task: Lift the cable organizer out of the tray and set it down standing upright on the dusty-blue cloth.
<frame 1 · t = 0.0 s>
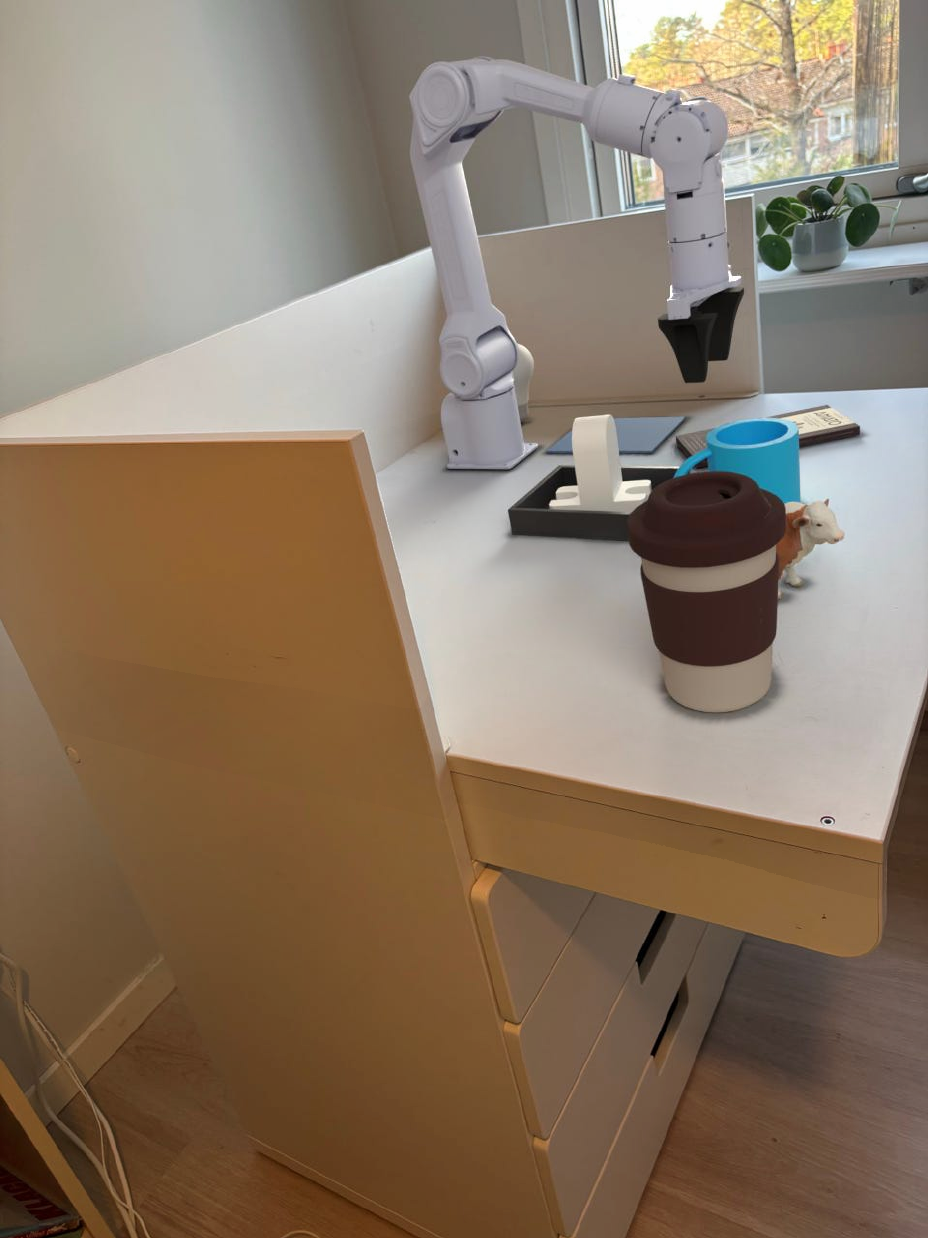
hand: (706, 370, 99), 10 cm above the table, tool pointing down, fingers open, 7 cm apart
cable organizer: (602, 511, 97), resting on tray
chocolate bar: (764, 440, 106), on the table
lightbulb: (521, 423, 131), on the table
coffee cup: (718, 688, 66), on the table
tray: (602, 512, 97), on the table
cloth: (616, 435, 117), on the table
bull figurine: (758, 593, 76), on the table
mug: (736, 519, 89), on the table
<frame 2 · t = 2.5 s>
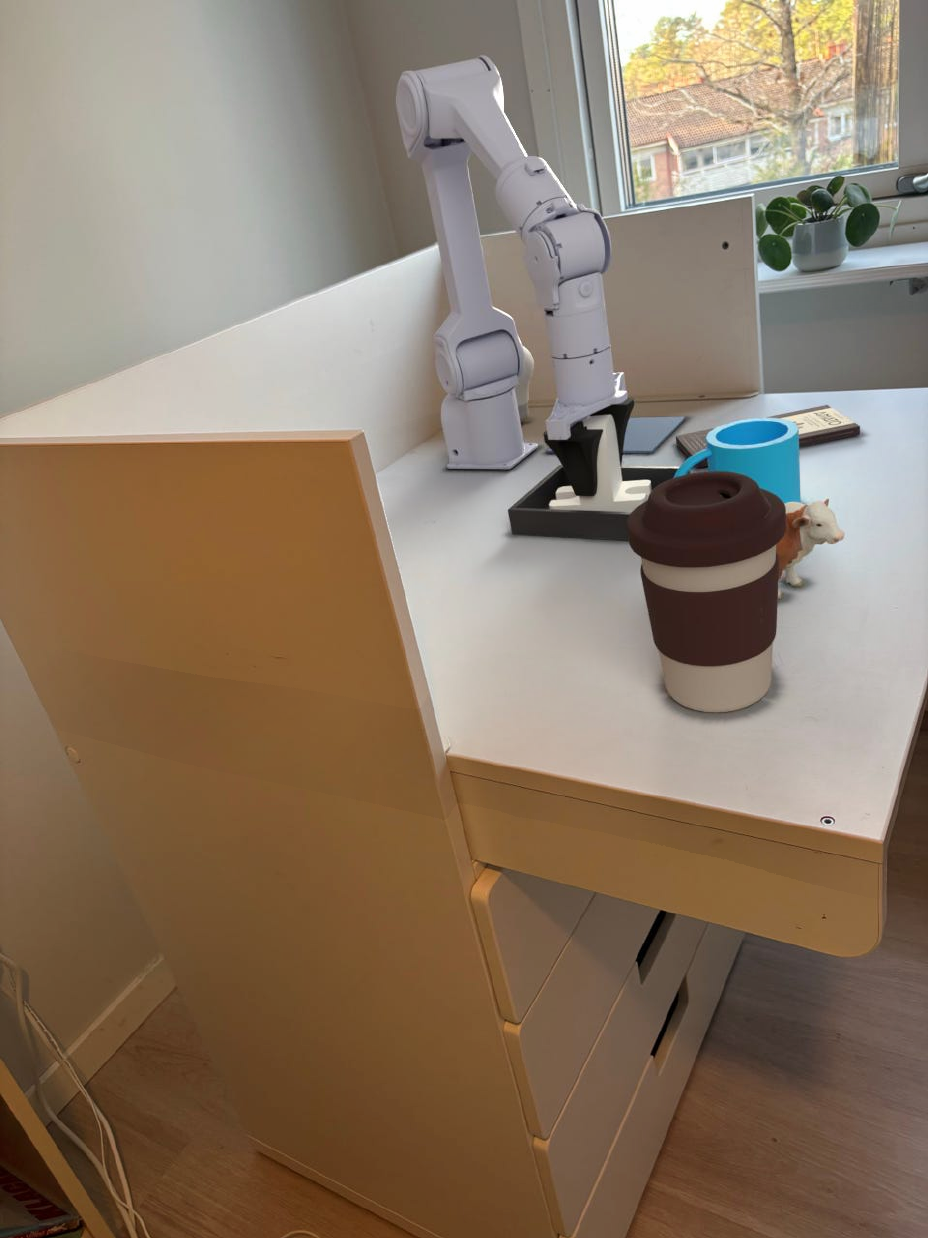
hand: (598, 482, 95), 3 cm above the table, tool pointing down, fingers closed on cable organizer, 6 cm apart
cable organizer: (602, 511, 97), resting on tray, touching gripper
everything else where it was.
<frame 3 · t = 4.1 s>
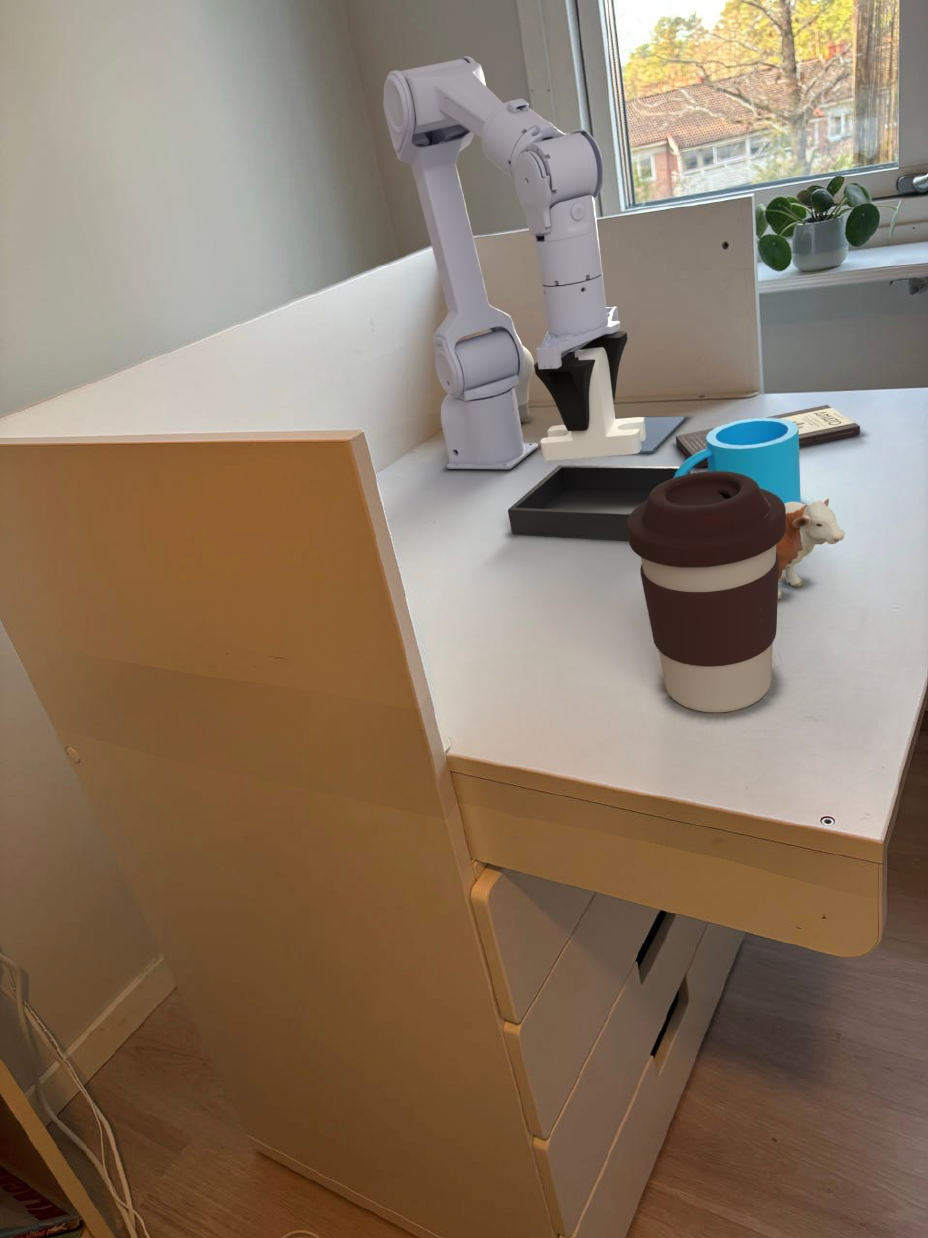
hand: (590, 418, 93), 10 cm above the table, tool pointing down, fingers closed on cable organizer, 6 cm apart
cable organizer: (594, 449, 95), point 7 cm above the table, touching gripper
everything else where it was.
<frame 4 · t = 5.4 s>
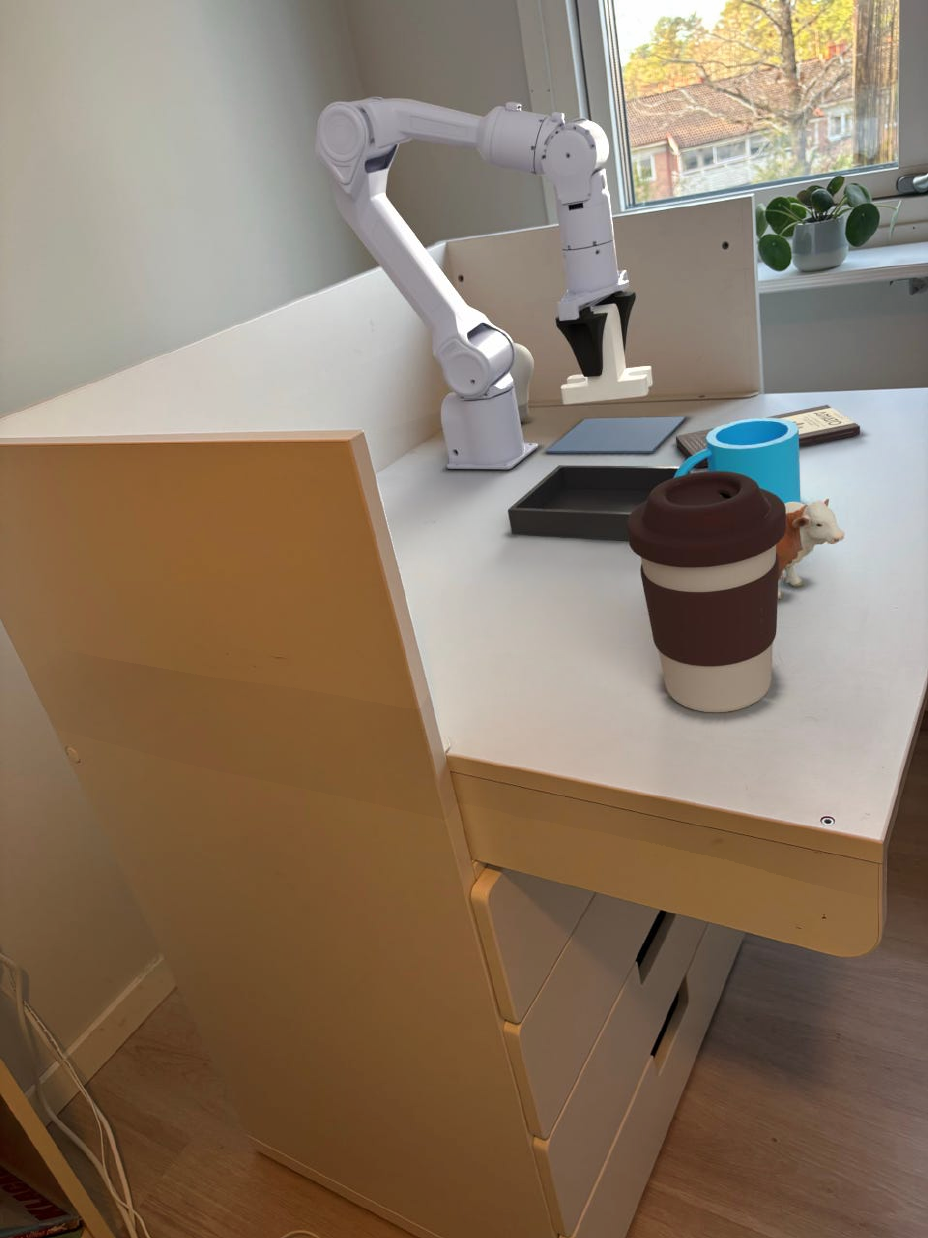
hand: (604, 367, 107), 10 cm above the table, tool pointing down, fingers closed on cable organizer, 6 cm apart
cable organizer: (608, 394, 109), point 7 cm above the table, touching gripper
everything else where it was.
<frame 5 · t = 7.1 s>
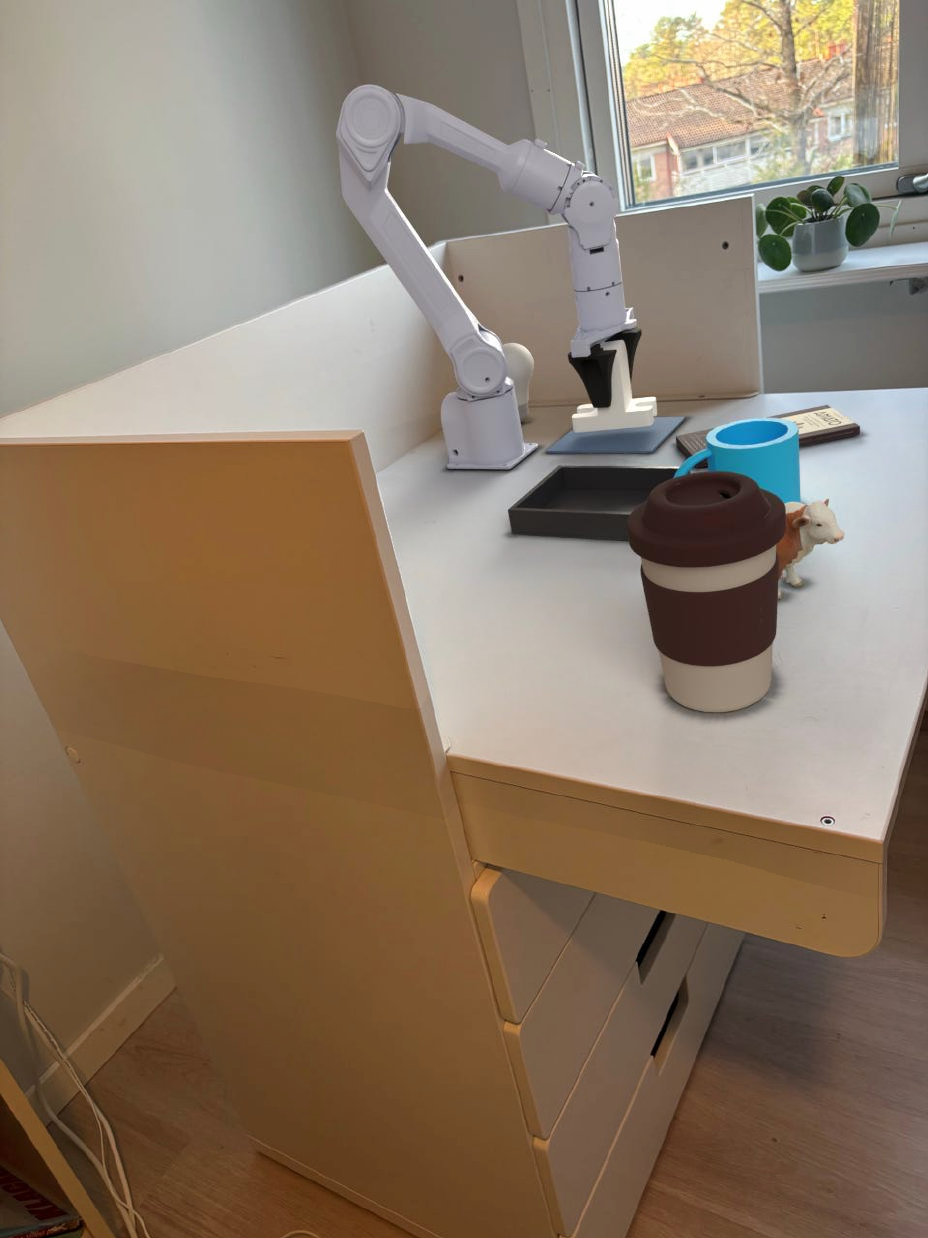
hand: (612, 398, 115), 5 cm above the table, tool pointing down, fingers closed on cable organizer, 6 cm apart
cable organizer: (615, 423, 117), point 2 cm above the table, touching gripper
everything else where it was.
when the fingers open (3 cm above the table, at t = 8.2 s): cable organizer stays where it is, resting on cloth.
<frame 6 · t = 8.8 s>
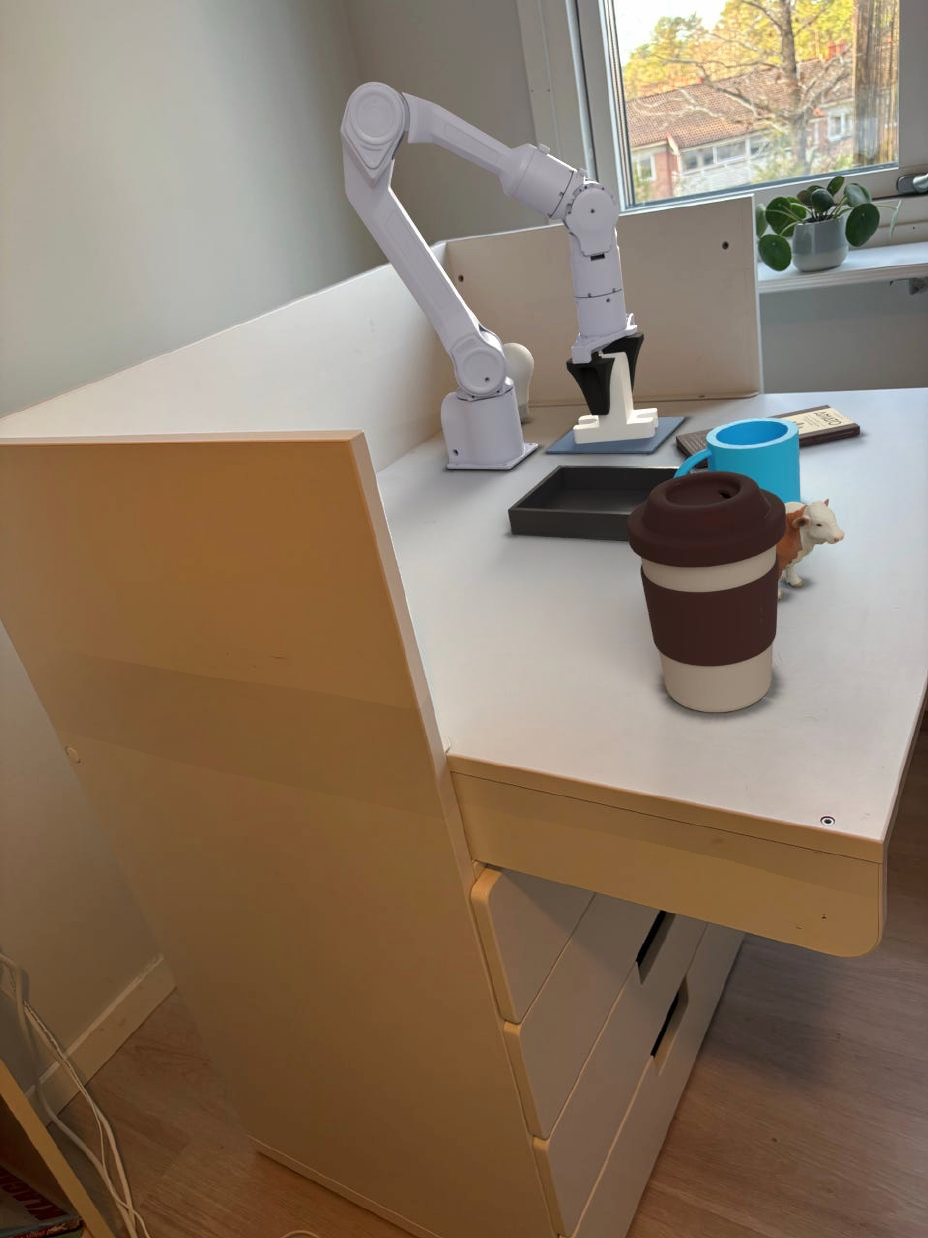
hand: (612, 404, 115), 4 cm above the table, tool pointing down, fingers open, 7 cm apart
cable organizer: (617, 434, 117), resting on cloth
everything else where it was.
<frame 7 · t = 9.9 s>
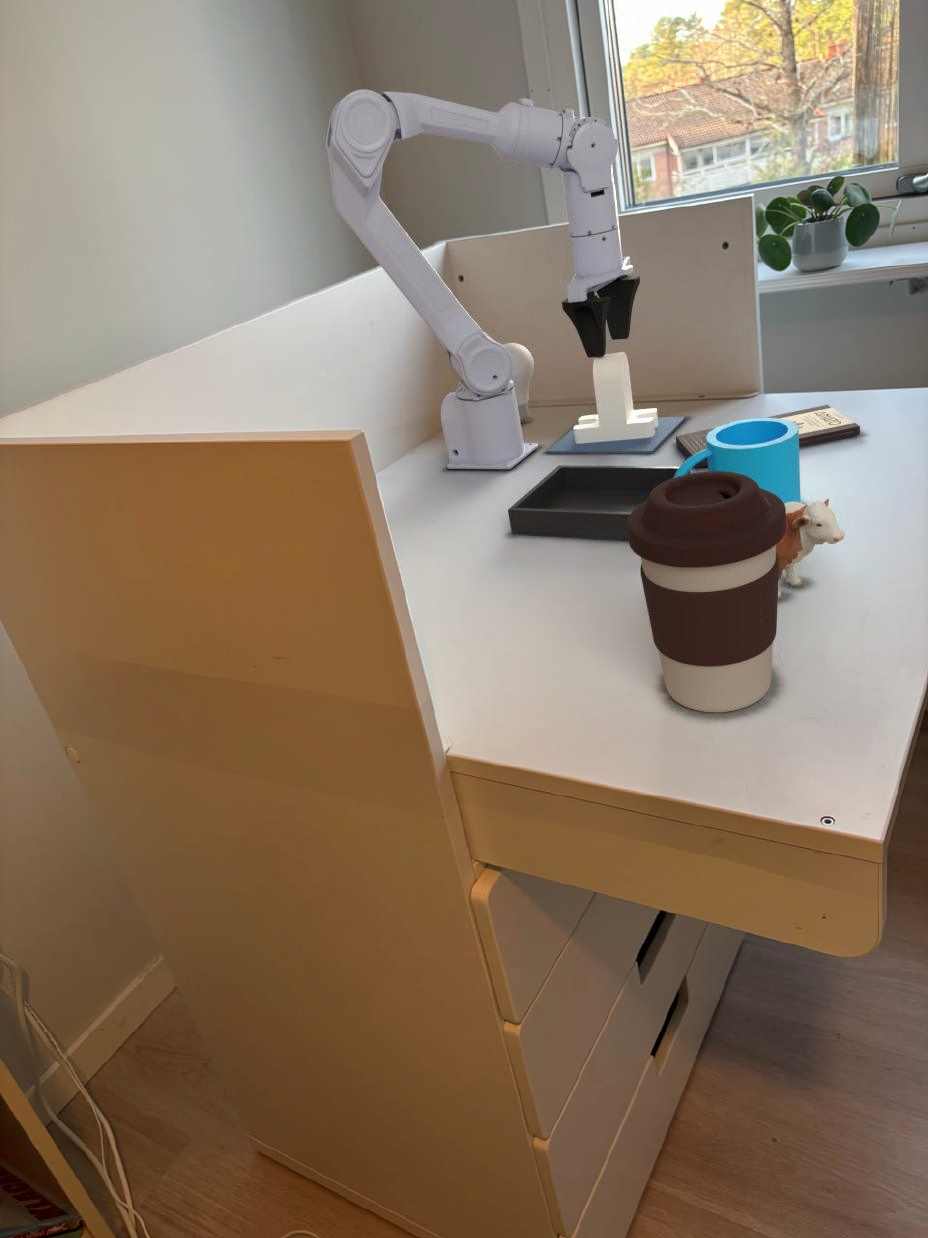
hand: (608, 347, 115), 10 cm above the table, tool pointing down, fingers open, 7 cm apart
nothing on the table moved.
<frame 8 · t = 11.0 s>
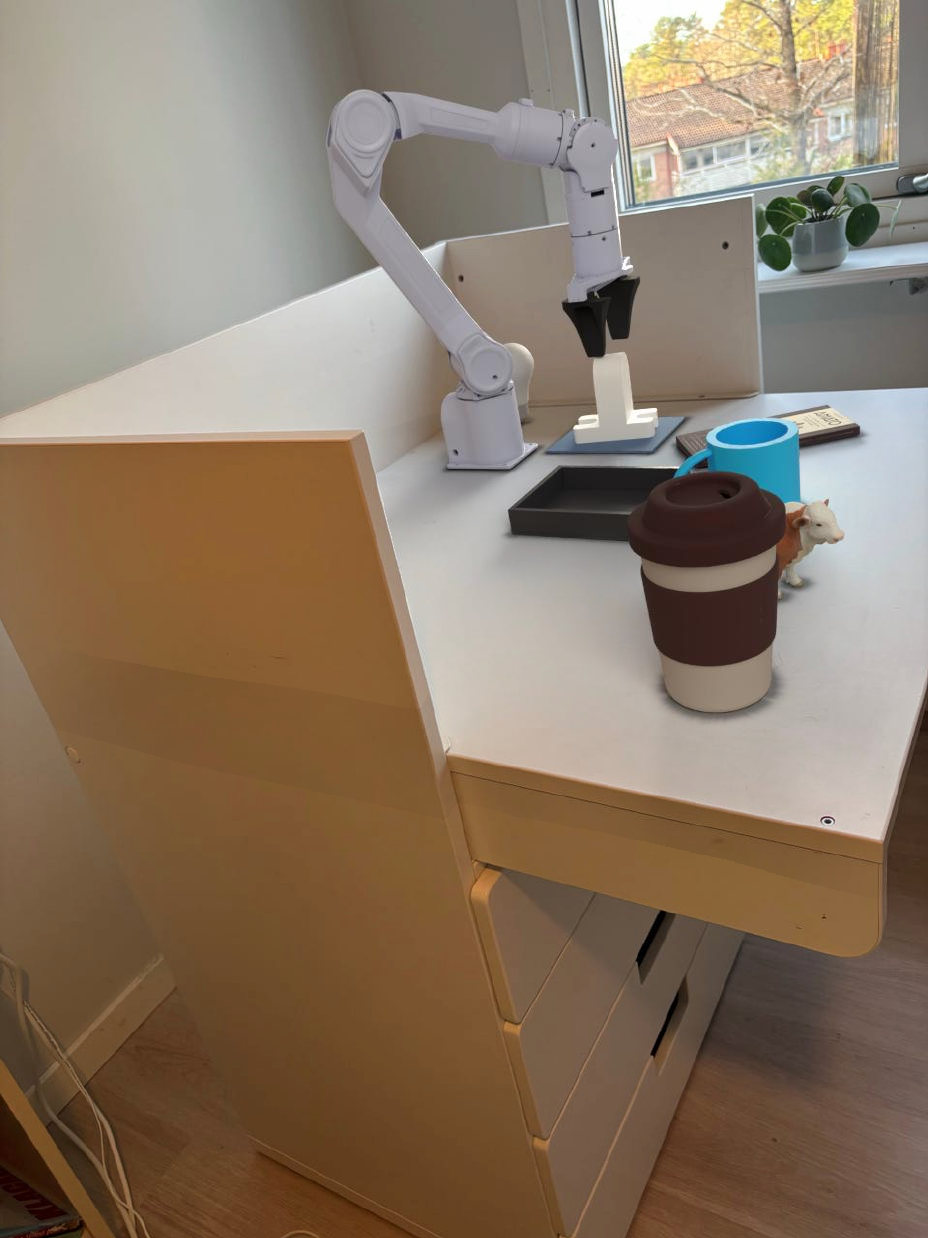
hand: (608, 347, 115), 10 cm above the table, tool pointing down, fingers open, 7 cm apart
nothing on the table moved.
at the end: cable organizer inside the target area on the cloth (0.1 cm from its centre), point 0.1 cm above the cloth's base; cable organizer tilted 0°; the gripper is holding nothing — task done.
